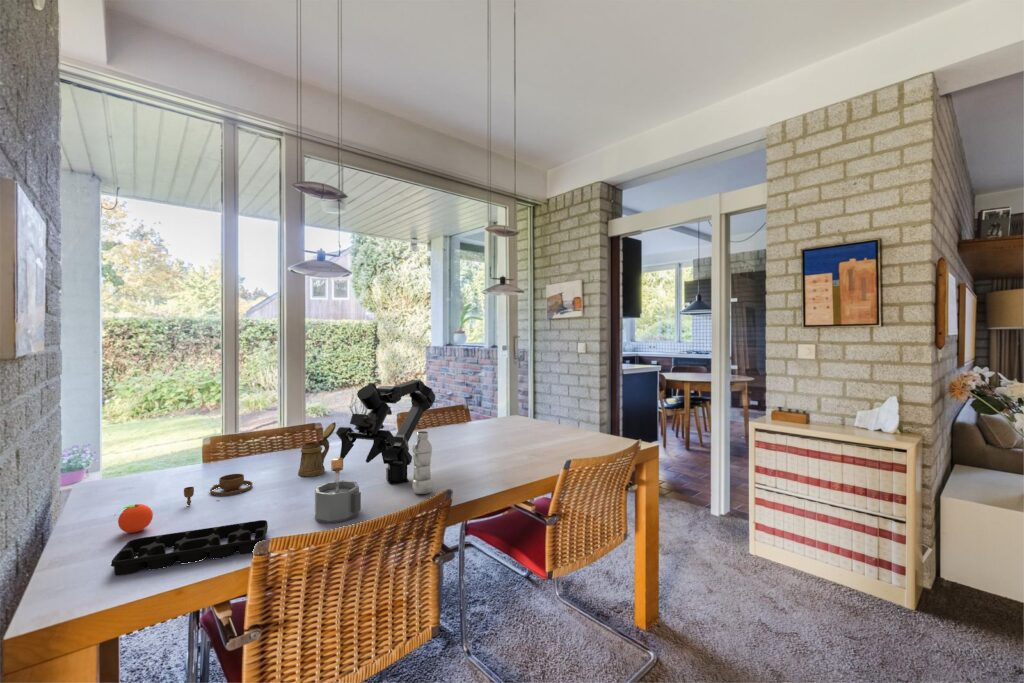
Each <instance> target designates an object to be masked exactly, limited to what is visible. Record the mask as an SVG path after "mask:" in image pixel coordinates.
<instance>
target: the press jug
mask: <svg viewBox="0 0 1024 683" xmlns="http://www.w3.org/2000/svg"><path fill="white" fill-rule="evenodd" d="M339 488H347V489H351V490H349V491H346V492H340V493H333V494H330V493H323V492H325V491H327V490H331V489H335V481H329V482H326V483H323V484H321V485H318V486H316V487H314V520H315V521H316V522H317V523H320V524H321V523H322V524H327V523H332V524H340V523H344V522H348V521H350V520H352V519H354V518H356V517H357V516H358V515H359V512H361V510H362V509H361V507H362V506H361V505H362V504H361V502H362V501H361V500H362V499H361V498H362V495H361V494H362V492H360V486H359V485H358V482H357V481H351V480H345V479H344V480H339Z"/></svg>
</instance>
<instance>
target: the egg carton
mask: <svg viewBox="0 0 1024 683" xmlns="http://www.w3.org/2000/svg"><path fill="white" fill-rule="evenodd" d="M252 533H255V534H254V536H255V538H253V539H252V536H251V535H253V534H252ZM267 534H268V520H266V519H262V520H261V519H260V520H252V521H245V522H241V523H232V524H227V525H222V526H219V525H218V526H212V527H206V528H199V529H194V530H193V529H192V530H186V531H180V532H172V533H166V534H160V535H159V534H158V535H153V536H145V537H139V538H136V539H131V540H129V541H127V542H126V544H125V545H124V546H123V547H122V548H121V549H120V550H119V551H118V553H116V555H115V556H114V557H113V558H112V559H111V564H110V567H113V569H114V570H113V571H114V575H115V576H117V577H119V576H120V577H121V576H127V575H131V574H132V575H133V574H136V573H139V572H141V571H142V570H143V569H144V568H145V567H146V566H147V569H148V570H149V569H151V570H150V571H152V569H155V570H159V569H158V568H161V569H164V568H163V567H166V568H168V567H167V566H169V567H172V566H174V565H175V564H176V563H177V562H176V561H180V562H179V564H180V563H188V562H195V561H199V560H202V559H204V558H205V557H206V558H207V556H208V552H209V559H210V558H212V559H211V560H216V559H215V558H220V559H224V558H223V557H225V558H229V557H228V556H230V557H232V556H233V554H234V553H235V554H236V553H237V552H236V551H239V552H238V554H239V553H240V554H239V555H248V554H253V553H252V551H253V549H254V546H255V544H256V543H257V542H259V541H262V540H263V541H264V540H265V539H266V535H267ZM223 538H225V539H227V543H224V544H223V543H222V544H221V540H223ZM220 539H221V540H220ZM172 546H174V547H172ZM167 547H168V548H173V551H171V552H167V553H166V549H167ZM137 553H138V554H137ZM235 554H234V555H235ZM231 555H232V556H231ZM136 556H137V557H136ZM134 557H135V558H134ZM206 558H205V559H206ZM213 558H214V559H213ZM205 559H204V560H205ZM175 562H176V563H175ZM174 563H175V564H174ZM173 564H174V565H173ZM171 565H172V566H171Z"/></svg>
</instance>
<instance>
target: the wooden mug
mask: <svg viewBox="0 0 1024 683" xmlns="http://www.w3.org/2000/svg"><path fill="white" fill-rule="evenodd" d="M336 427H337V426H336V422H335V421H334V422H332V423H330V424H329V425H328V426H326V428H325V429H324V431H323V433H322V438H321V439H318V440H317V441H306V442H303V443H302V445H301V446H302V447H301V448H300V453H301V455H300V456H301V457H300V464H299V469H298V471H297V472H298V473H297V475H298V476H300V477H304V476H306V477H307V476H309V477H316V476H319V474H320V475H322V474H324V473H325V472H326V471H325V468H326V467H325V466H324V462H325V459H326V456H327V454H328V453H329V450H330V441H329V439H328V438H330V437H331V436H332V434H333V433H334V431H335V429H336ZM323 447H324V449H323ZM322 450H323V451H322ZM315 475H316V476H315ZM306 477H305V478H306ZM307 478H308V477H307Z"/></svg>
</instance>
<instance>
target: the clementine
mask: <svg viewBox="0 0 1024 683" xmlns="http://www.w3.org/2000/svg"><path fill="white" fill-rule="evenodd" d="M121 510H123V511H122V512H121V513H120V514H119V516H118V518H117V524H118V527H119V528H120V530H121V531H123V532H126V533H130V534H133V533H139V532H141V531H143V530H144V529H146V528H148V526H149V525H150V524H151V522H152V520H153V516H154V515H153V514H154V513H153V510H152V509H151V507H149V506H148V505H147V504H143V503H138V504H136V503H135V504H131V505H128V506H125V507H123V508H120V510H118V512H120V511H121ZM116 514H117V513H115V514H114V516H116Z"/></svg>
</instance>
